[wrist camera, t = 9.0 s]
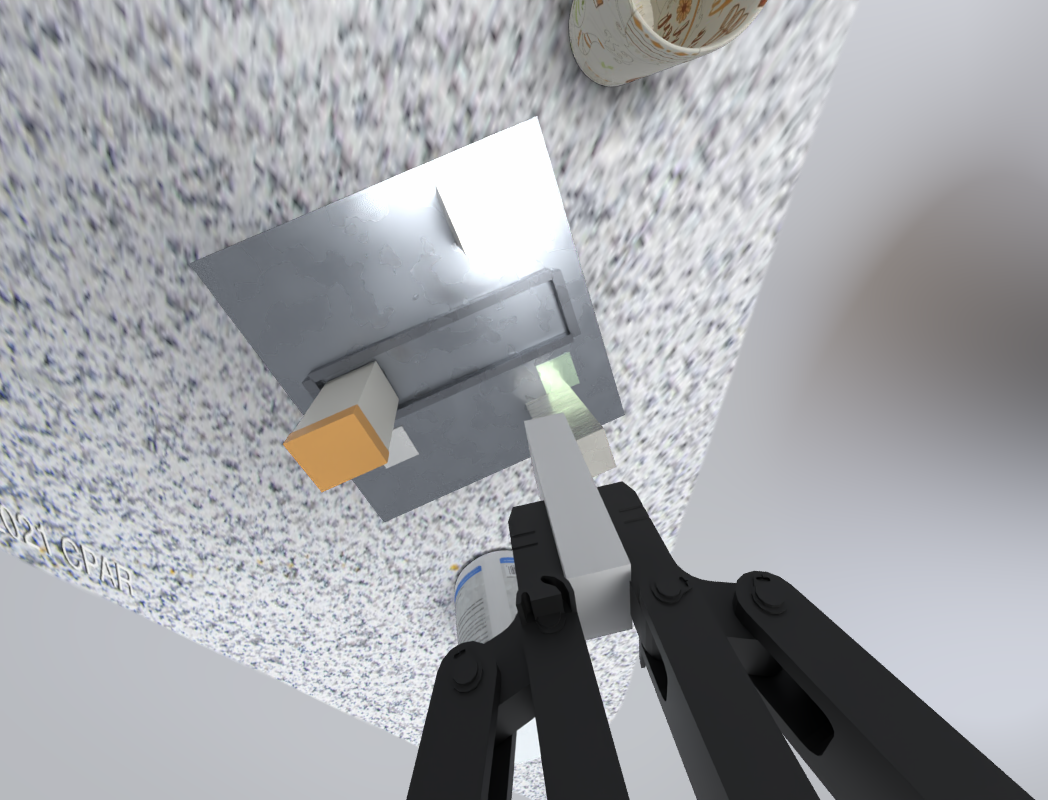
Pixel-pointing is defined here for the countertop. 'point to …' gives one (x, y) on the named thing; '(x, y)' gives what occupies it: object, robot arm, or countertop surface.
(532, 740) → the supplement tub
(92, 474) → the countertop surface
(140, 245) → the countertop surface
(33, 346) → the countertop surface
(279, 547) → the countertop surface
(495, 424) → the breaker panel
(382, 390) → the handle
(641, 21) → the mug
